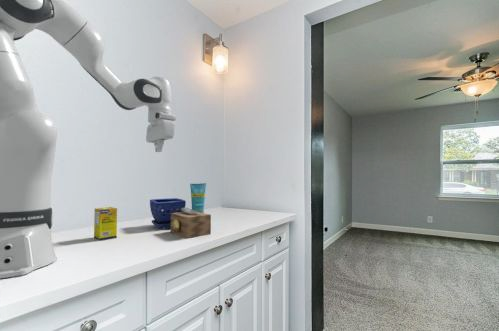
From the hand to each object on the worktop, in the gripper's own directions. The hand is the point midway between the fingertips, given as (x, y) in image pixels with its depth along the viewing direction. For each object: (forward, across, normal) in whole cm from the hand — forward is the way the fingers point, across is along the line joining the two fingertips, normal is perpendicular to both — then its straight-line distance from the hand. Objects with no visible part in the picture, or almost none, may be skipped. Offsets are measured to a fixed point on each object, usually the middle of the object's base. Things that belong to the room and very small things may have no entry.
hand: (158, 151), depth 103 cm
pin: (+31, +10, +10) cm, 34 cm away
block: (+32, +10, +10) cm, 35 cm away
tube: (+32, -1, +20) cm, 38 cm away
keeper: (+24, +8, +10) cm, 27 cm away
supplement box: (+33, -4, -17) cm, 38 cm away
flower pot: (+33, -9, +9) cm, 35 cm away
